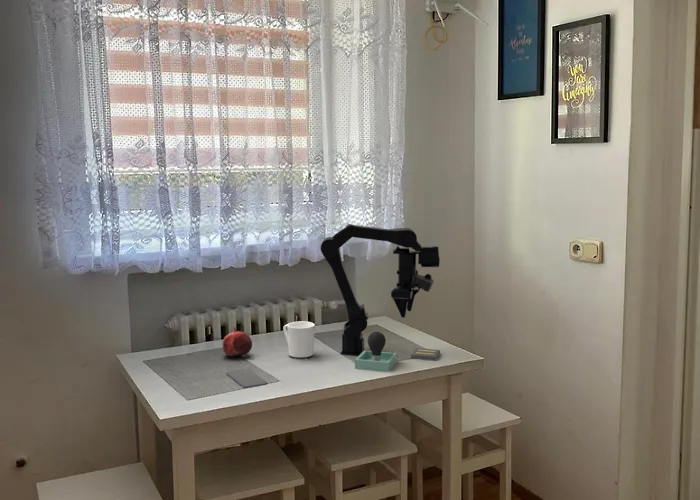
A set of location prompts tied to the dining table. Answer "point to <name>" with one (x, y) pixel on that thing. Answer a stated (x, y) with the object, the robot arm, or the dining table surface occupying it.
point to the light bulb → (376, 344)
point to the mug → (300, 339)
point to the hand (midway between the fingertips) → (406, 314)
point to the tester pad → (425, 354)
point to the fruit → (237, 343)
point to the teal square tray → (368, 364)
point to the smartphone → (246, 378)
